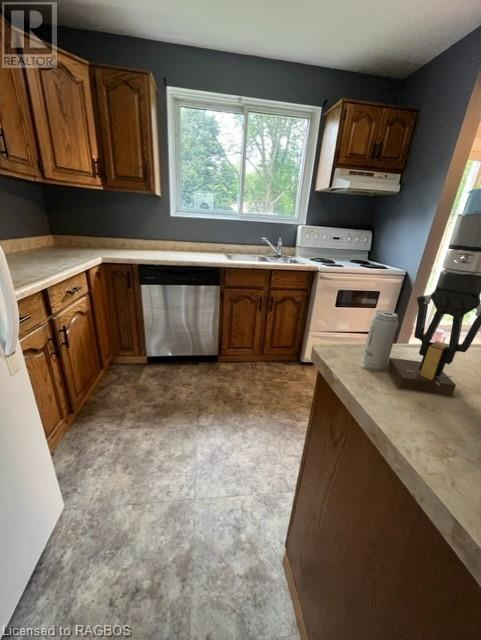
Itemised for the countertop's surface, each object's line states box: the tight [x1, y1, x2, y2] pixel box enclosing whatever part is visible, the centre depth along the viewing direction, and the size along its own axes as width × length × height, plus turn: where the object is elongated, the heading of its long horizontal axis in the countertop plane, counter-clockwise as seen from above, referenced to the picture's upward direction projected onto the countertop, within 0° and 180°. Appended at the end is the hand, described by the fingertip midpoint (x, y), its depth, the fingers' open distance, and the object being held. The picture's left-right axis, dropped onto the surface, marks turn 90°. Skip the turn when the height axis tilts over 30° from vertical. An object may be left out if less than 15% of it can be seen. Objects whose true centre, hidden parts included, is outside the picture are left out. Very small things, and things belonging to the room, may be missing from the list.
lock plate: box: [386, 357, 457, 397], centre depth 65 cm, size 12×11×3 cm
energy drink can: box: [361, 310, 399, 372], centre depth 70 cm, size 6×6×15 cm
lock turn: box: [420, 340, 449, 380], centre depth 63 cm, size 6×2×8 cm, turn 131°
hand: (430, 371), depth 64 cm, fingers closed on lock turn, 2 cm apart
